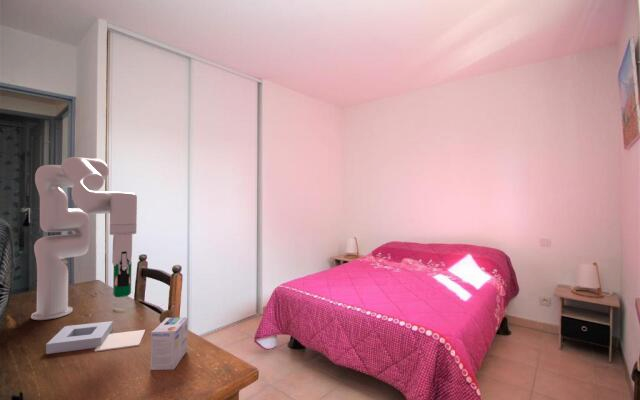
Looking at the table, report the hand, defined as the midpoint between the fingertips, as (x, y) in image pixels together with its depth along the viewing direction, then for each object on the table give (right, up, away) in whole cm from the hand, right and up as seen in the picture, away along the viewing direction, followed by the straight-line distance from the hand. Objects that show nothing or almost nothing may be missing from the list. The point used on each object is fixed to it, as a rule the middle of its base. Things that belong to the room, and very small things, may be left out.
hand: (122, 283), depth 103 cm
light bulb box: (+22, -20, -12) cm, 31 cm away
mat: (0, -19, 0) cm, 19 cm away
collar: (-13, -19, -1) cm, 23 cm away
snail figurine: (+15, -19, 0) cm, 24 cm away
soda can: (0, -4, 0) cm, 4 cm away
